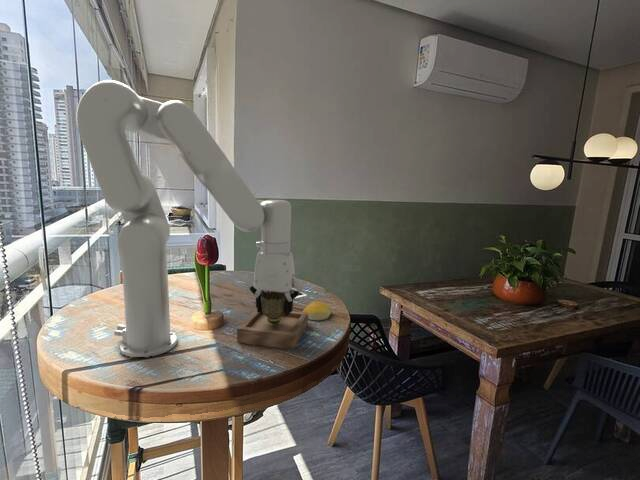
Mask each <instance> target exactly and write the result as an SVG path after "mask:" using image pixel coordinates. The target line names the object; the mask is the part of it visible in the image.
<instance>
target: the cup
mask: <svg viewBox="0 0 640 480" xmlns="http://www.w3.org/2000/svg"><path fill="white" fill-rule="evenodd" d="M286 301H287V298H286V296H285V293H279V292H269V291H263V292H262V293H261V306H262V311H263V313H264V315H265V316H266V317H268V318H267V320H268V322H269V323H272V324H275V323H279V322H280V320H281V317H282V316H283V315H284V313H285V303H286Z"/></svg>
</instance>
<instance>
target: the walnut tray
mask: <svg viewBox="0 0 640 480" xmlns="http://www.w3.org/2000/svg"><path fill="white" fill-rule="evenodd" d="M267 318H268V317H266V316H265V315H264V313H263V311H261V312H257V308H256V309H255V310H254V311H253V312H252V313H251V314H249V316H248V317H247V318H246V319H245V320H244V321H243V322H241V324H240V325H239V326H238V327H237V328H236V342H237V343H240V344H247V345H256V346H262V347H271V348H278V349H286V350H293V351H294V350H295V349H296V347H297V346H298V343H299V341H300V340H301V338H302V336H303V335H304V332H305V330H306V329H307V327H308V325H309V324H308V323H309V321H308V320H309V319H308V313H305V312H303V311H296V310H295V311H294V310H292V312H290V314H289V315H288V316H286V315H285V313H284V315H283V316H282V317H281V320H280V322H279V323H275V324H272V323H269V322H268V320H267Z"/></svg>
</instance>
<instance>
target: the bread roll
mask: <svg viewBox="0 0 640 480" xmlns="http://www.w3.org/2000/svg"><path fill="white" fill-rule="evenodd" d="M302 312H305V313H308V320H309V321H324V320H327V319H328V318H329V317H330V316H331V314H332V310H331V308H330V306H329V305H328V304H327V303H326V302H322V301H319V300H317V301H312V302H311V303H309V304H308V305H306V307H305V308H304V309H303V310H302Z"/></svg>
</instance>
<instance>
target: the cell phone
mask: <svg viewBox="0 0 640 480" xmlns="http://www.w3.org/2000/svg"><path fill="white" fill-rule="evenodd" d="M296 290H297V289H295V288H294V287H293V288H292V291H293V293H294V292H295V291H296ZM304 297H308V295H307V294H306V293H303V291H301V293H300V294H299V295H298V296H297V297H295V298H294V299H293V300H295V299H300V298H304Z"/></svg>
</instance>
